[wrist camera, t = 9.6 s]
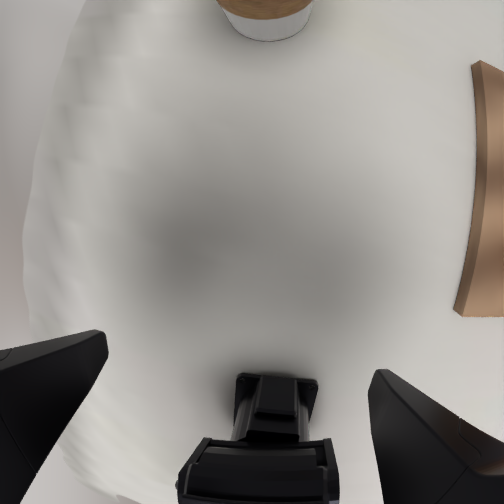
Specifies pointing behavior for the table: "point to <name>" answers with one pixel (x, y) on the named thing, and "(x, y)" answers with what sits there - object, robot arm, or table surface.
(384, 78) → the table surface
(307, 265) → the table surface
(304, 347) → the table surface
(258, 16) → the coffee cup
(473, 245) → the gear board
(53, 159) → the table surface
